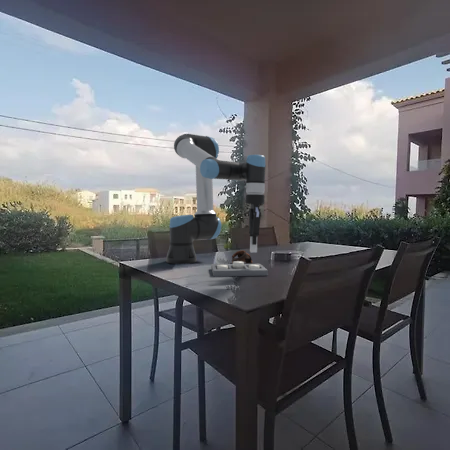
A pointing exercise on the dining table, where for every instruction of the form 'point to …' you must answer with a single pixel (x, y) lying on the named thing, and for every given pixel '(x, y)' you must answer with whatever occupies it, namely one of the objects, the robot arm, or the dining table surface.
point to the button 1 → (222, 267)
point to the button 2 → (254, 266)
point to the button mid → (238, 265)
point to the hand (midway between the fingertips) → (253, 252)
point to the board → (239, 270)
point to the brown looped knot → (242, 257)
